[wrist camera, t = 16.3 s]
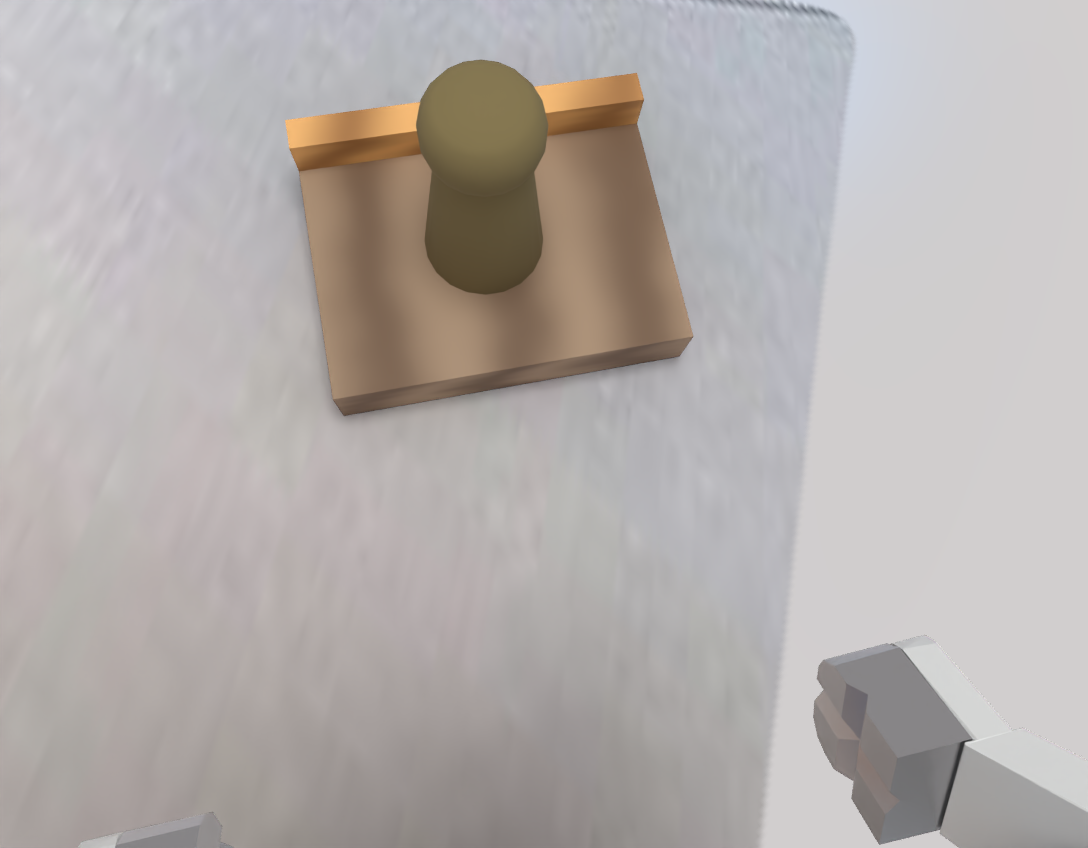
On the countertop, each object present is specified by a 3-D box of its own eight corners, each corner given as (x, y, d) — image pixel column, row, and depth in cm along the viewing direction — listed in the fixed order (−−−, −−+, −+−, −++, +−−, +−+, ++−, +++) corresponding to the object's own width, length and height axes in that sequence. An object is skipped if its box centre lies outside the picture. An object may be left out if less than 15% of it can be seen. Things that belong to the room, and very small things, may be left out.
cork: (494, 166, 41) (496, 6, 31) (567, 250, 40) (594, 116, 30) (400, 228, 40) (368, 85, 29) (473, 317, 39) (467, 202, 28)
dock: (344, 415, 40) (324, 387, 36) (307, 176, 44) (285, 119, 39) (679, 356, 43) (703, 321, 38) (621, 131, 46) (636, 73, 41)
